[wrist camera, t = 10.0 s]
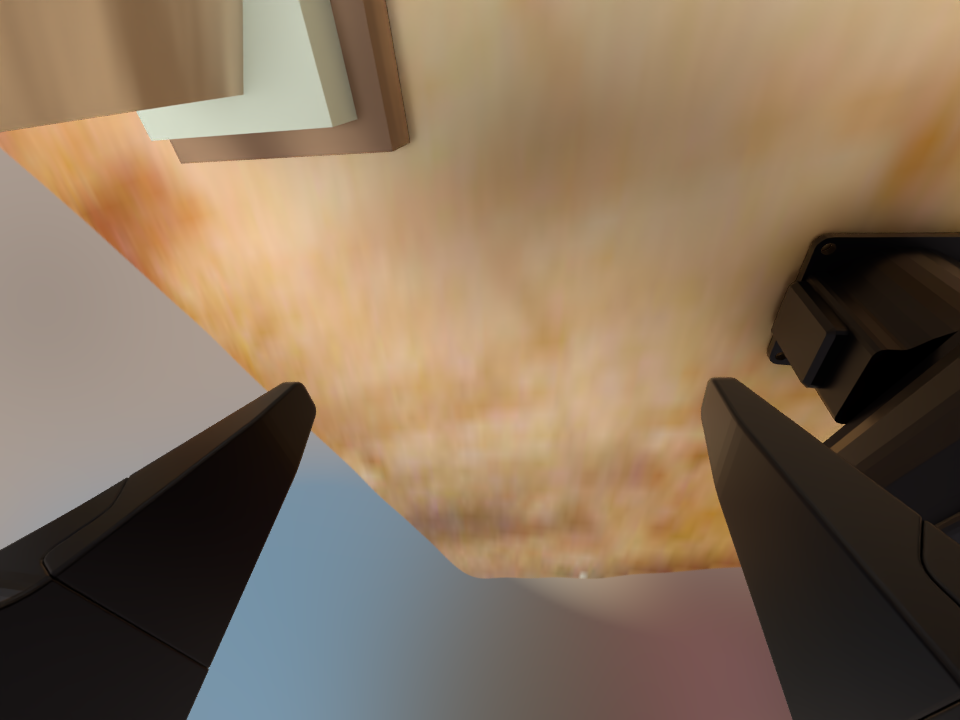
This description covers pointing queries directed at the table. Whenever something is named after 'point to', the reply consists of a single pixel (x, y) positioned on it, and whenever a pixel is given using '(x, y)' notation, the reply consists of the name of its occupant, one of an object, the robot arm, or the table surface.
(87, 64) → the oak block
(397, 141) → the walnut base slab
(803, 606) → the robot arm
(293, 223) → the table surface
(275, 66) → the sage slab
